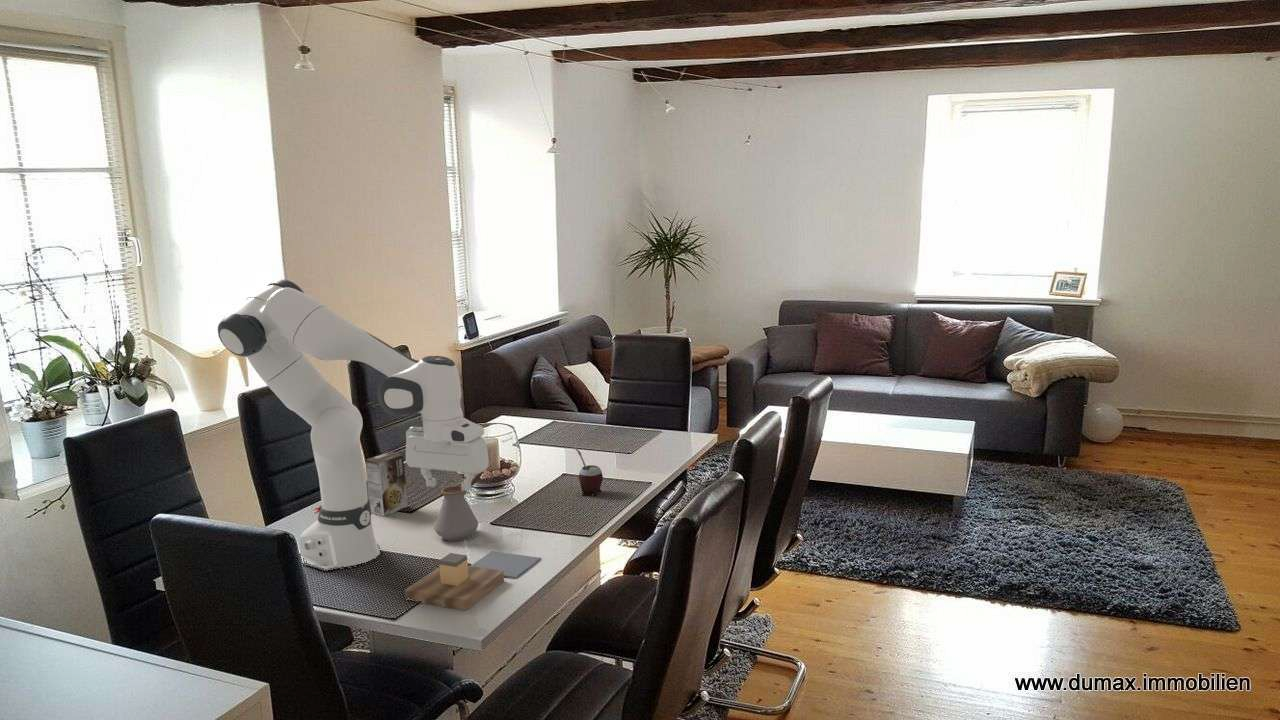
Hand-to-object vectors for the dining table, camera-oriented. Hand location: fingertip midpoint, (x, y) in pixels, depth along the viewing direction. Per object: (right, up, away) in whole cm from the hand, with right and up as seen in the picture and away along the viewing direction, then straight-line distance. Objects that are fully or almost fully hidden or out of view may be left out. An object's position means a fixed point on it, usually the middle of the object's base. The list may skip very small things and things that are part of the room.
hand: (448, 488), depth 208 cm
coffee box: (-30, -15, +60) cm, 69 cm away
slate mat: (+10, -21, +18) cm, 29 cm away
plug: (+1, -24, +4) cm, 25 cm away
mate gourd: (+28, -11, +67) cm, 74 cm away
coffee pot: (-3, -17, +42) cm, 46 cm away
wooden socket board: (+1, -24, +4) cm, 25 cm away
